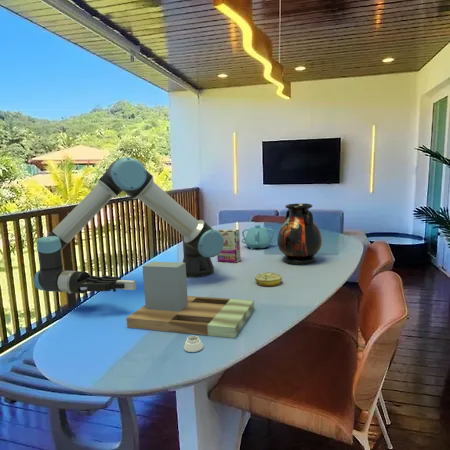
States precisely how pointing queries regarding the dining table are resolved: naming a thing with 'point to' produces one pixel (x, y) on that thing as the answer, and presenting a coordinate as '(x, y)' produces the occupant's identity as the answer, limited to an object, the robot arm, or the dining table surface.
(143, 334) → the dining table surface
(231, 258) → the candy bar box
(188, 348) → the white jar
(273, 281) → the decorated donut
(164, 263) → the grey block
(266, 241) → the decorative pot
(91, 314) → the dining table surface
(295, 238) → the amphora vase
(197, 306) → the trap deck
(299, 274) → the dining table surface
